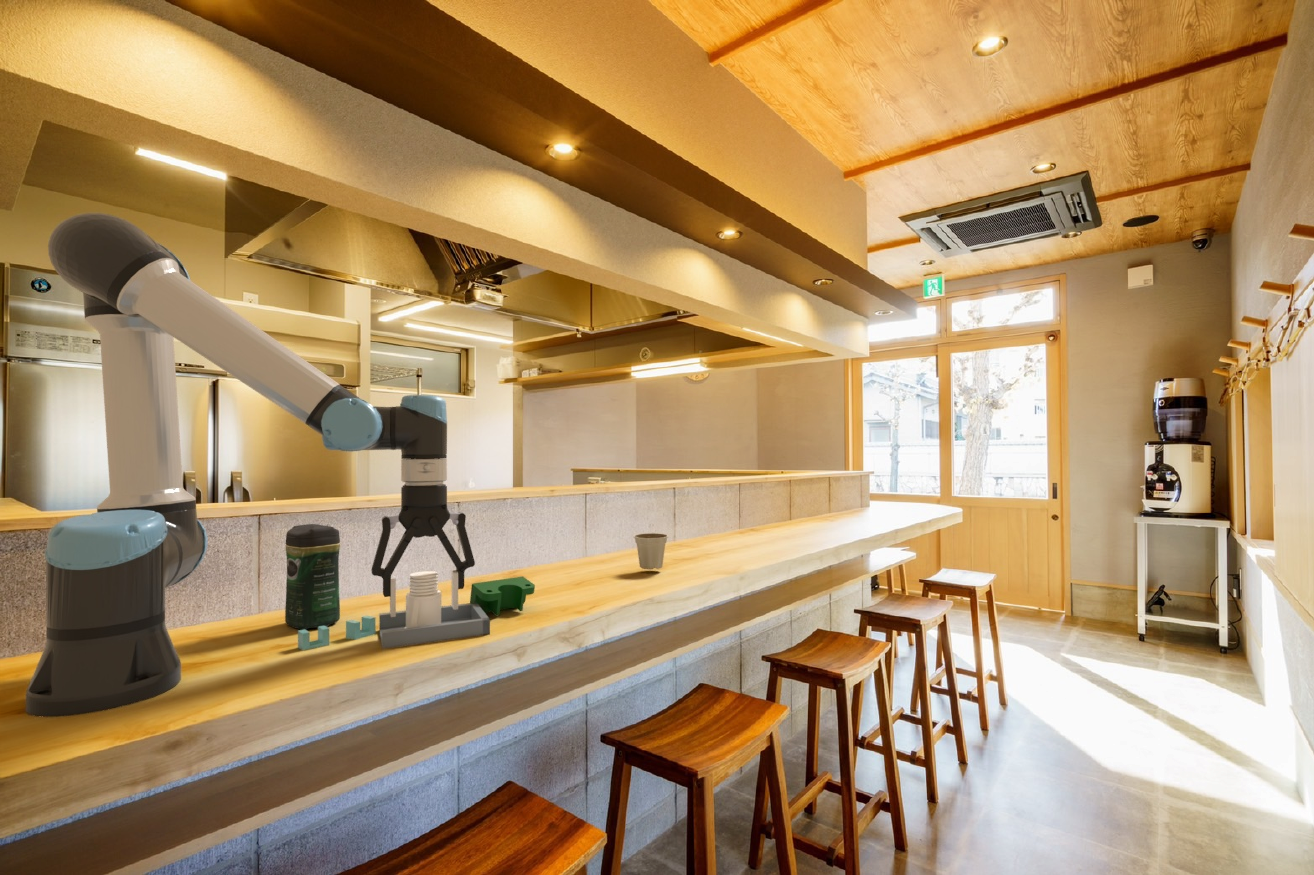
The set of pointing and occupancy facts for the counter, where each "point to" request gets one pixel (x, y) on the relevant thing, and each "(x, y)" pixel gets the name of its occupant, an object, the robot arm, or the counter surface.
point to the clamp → (501, 594)
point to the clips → (351, 633)
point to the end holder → (434, 626)
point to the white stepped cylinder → (423, 600)
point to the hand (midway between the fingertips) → (424, 611)
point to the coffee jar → (312, 576)
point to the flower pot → (651, 549)
